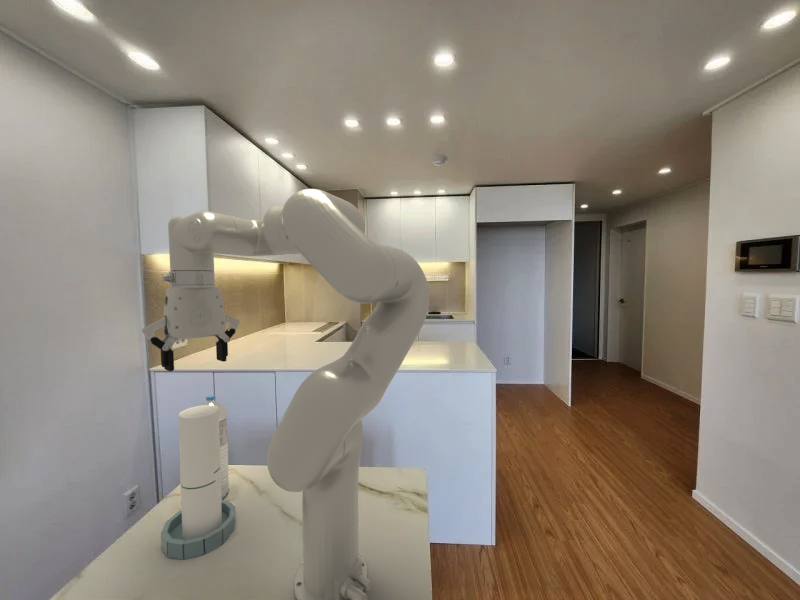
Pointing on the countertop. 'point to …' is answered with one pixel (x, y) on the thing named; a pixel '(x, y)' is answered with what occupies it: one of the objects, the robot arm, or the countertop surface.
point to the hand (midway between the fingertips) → (196, 365)
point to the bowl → (186, 549)
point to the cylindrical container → (200, 470)
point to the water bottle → (222, 444)
